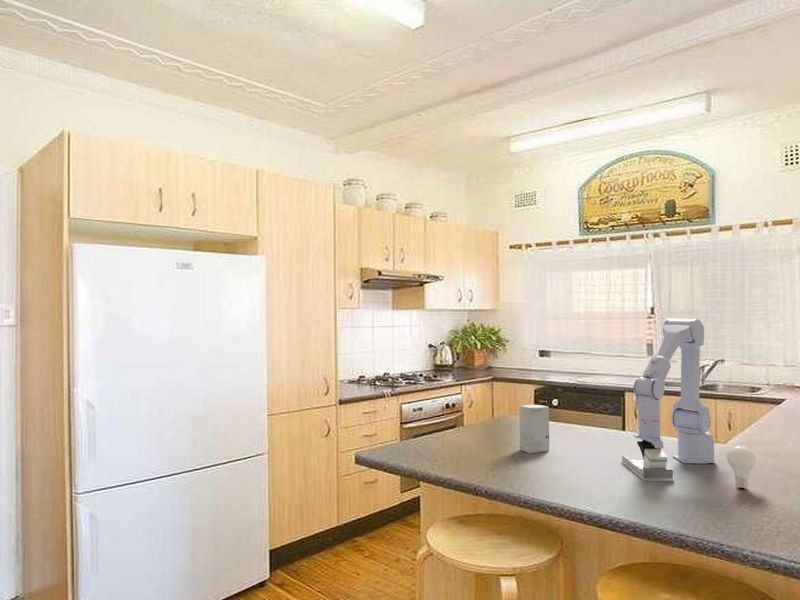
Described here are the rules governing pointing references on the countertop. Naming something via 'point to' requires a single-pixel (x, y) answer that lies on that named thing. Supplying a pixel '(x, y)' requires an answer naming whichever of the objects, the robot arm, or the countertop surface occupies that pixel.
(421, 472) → the countertop surface
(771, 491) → the countertop surface
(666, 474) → the rail plate
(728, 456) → the lightbulb
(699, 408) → the robot arm
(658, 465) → the block
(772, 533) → the countertop surface
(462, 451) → the countertop surface
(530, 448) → the skincare box
